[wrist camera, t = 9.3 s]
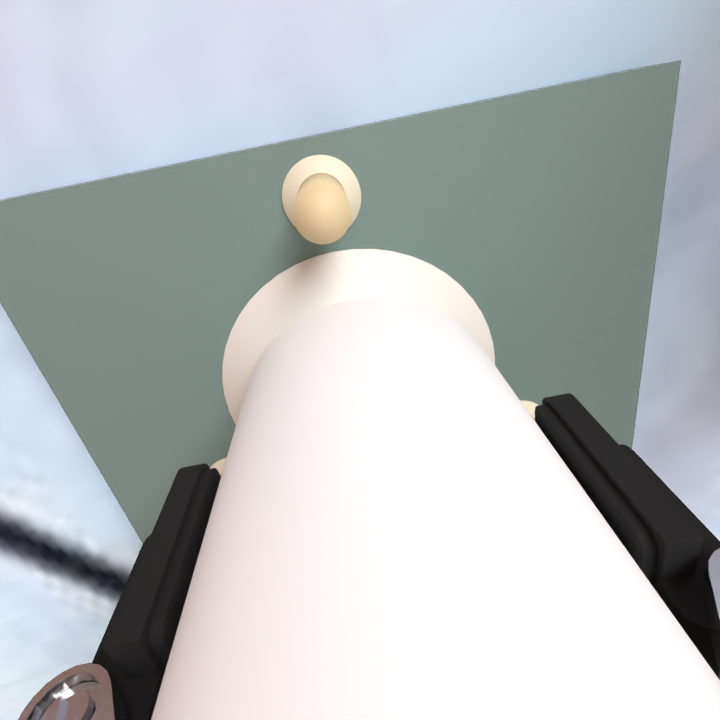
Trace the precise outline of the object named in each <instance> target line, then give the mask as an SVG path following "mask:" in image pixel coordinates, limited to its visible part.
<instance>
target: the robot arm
mask: <svg viewBox="0 0 720 720" xmlns="http://www.w3.org/2000/svg"><path fill="white" fill-rule="evenodd" d="M535 422H536V424H537V425H538V426H539V428H540V429H541V431H542V432H543V433H544V435H545V436H546V438H547V439H548V440H549V442H550V443H551V445H552V446H553V447H554V449H555V450H556V452H557V453H558V454H559V456H560V457H561V459H562V460H563V461H564V463H565V464H566V466H567V467H568V468H569V470H570V471H571V473H572V474H573V475H574V477H575V478H576V480H577V481H578V482H579V484H580V485H581V487H582V488H583V489H584V491H585V492H586V494H587V495H588V496H589V498H590V499H591V501H592V502H593V503H594V505H595V506H596V508H597V509H598V510H599V512H600V513H601V515H602V516H603V517H604V519H605V520H606V522H607V523H608V524H609V526H610V527H611V529H612V530H613V531H614V533H615V534H616V536H617V537H618V538H619V540H620V541H621V543H622V544H623V545H624V547H625V548H626V550H627V551H628V552H629V554H630V555H631V557H632V558H633V559H634V561H635V562H636V564H637V565H638V566H639V568H640V569H641V571H642V572H643V573H644V575H645V576H646V578H647V579H648V580H649V582H650V583H651V585H652V586H653V587H654V589H655V590H656V592H657V593H658V594H659V596H660V597H661V599H662V600H663V601H664V603H665V604H666V606H667V607H668V608H669V610H670V611H671V613H672V614H673V615H674V617H675V618H676V620H677V621H678V622H679V624H680V625H681V627H682V628H683V629H684V631H685V632H686V634H687V635H688V636H689V638H690V639H691V641H692V642H693V644H694V645H695V646H696V648H697V649H698V651H699V652H700V653H701V655H702V656H703V658H704V659H705V660H706V662H707V663H708V665H709V666H710V667H711V669H712V670H713V672H714V673H715V674H716V676H717V677H718V679H719V680H720V541H719V540H718V539H717V538H716V537H715V536H714V535H713V534H712V533H711V532H710V531H709V530H708V529H707V528H706V527H705V526H704V524H703V523H702V522H701V521H700V520H699V519H698V518H697V517H696V516H695V515H694V514H693V513H692V512H691V511H690V510H689V509H688V508H687V507H686V506H685V504H684V503H683V502H682V501H681V500H680V499H679V498H678V497H677V496H676V495H675V494H674V493H673V492H672V491H671V490H670V489H669V488H668V487H667V486H666V484H665V483H664V482H663V481H662V480H661V479H660V478H659V477H658V476H657V475H656V474H655V473H654V472H653V471H652V470H651V469H650V468H649V467H648V466H647V464H646V463H645V462H644V461H643V460H642V459H641V458H640V457H639V456H638V455H637V454H636V453H635V452H634V451H633V450H632V449H631V448H630V447H628V446H626V445H623V444H621V445H619V444H618V443H617V442H616V441H615V440H614V439H613V438H612V437H611V436H610V434H609V433H608V432H607V431H606V430H605V429H604V428H603V427H602V426H601V425H600V424H599V423H598V421H597V420H596V419H595V418H594V417H593V416H592V415H591V414H590V413H589V412H588V411H587V410H586V408H585V407H584V406H583V405H582V404H581V403H580V402H579V401H578V400H577V399H576V398H575V397H574V396H573V395H572V394H570V393H566V394H561V395H556V396H551V397H546V398H544V399H543V400H542V405H539V406H536V407H535ZM220 479H221V476H220V474H219V472H218V470H217V469H216V468H212V469H210V467H209V466H208V465H207V464H205V463H204V464H198V465H193V466H188V467H183V468H180V469H179V470H178V472H177V474H176V476H175V479H174V481H173V484H172V486H171V488H170V491H169V493H168V495H167V498H166V500H165V503H164V505H163V507H162V510H161V512H160V515H159V517H158V519H157V522H156V524H155V526H154V529H153V531H152V534H150V535H149V536H148V537H147V538H146V540H145V542H144V543H143V545H142V548H141V550H140V552H139V555H138V557H137V559H136V562H135V564H134V566H133V569H132V571H131V573H130V576H129V578H128V580H127V583H126V585H125V587H124V590H123V592H122V594H121V597H120V599H119V601H118V604H117V606H116V608H115V611H114V613H113V615H112V618H111V620H110V622H109V625H108V627H107V629H106V632H105V634H104V636H103V639H102V641H101V643H100V646H99V648H98V650H97V653H96V655H95V657H94V660H93V662H92V663H87V664H82V665H77V666H75V667H73V668H70V669H68V670H66V671H64V672H62V673H61V674H59V675H58V676H56V677H55V678H54V679H52V680H51V681H50V682H48V683H47V684H46V685H45V686H44V687H43V688H42V689H41V690H40V691H39V692H38V693H37V694H36V695H35V696H34V697H33V698H32V700H31V701H30V702H29V704H28V705H27V706H26V708H25V709H24V710H23V712H22V713H21V715H20V717H19V719H18V720H151V718H152V715H153V711H154V708H155V704H156V701H157V697H158V694H159V690H160V687H161V684H162V680H163V677H164V673H165V670H166V666H167V663H168V659H169V656H170V652H171V649H172V645H173V642H174V638H175V635H176V632H177V628H178V625H179V621H180V618H181V614H182V611H183V607H184V604H185V600H186V597H187V593H188V590H189V587H190V583H191V580H192V576H193V573H194V569H195V566H196V562H197V559H198V555H199V552H200V548H201V545H202V542H203V538H204V535H205V531H206V528H207V524H208V521H209V517H210V514H211V510H212V507H213V503H214V500H215V497H216V493H217V490H218V486H219V483H220Z"/></svg>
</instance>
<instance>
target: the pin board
mask: <svg viewBox="0 0 720 720" xmlns="http://www.w3.org/2000/svg"><path fill="white" fill-rule="evenodd" d="M680 64H681V61H675V62H669V63H663V64H658V65H652V66H646V67H641V68H636V69H631V70H626V71H621V72H616V73H612V74H607V75H602V76H597V77H592V78H587V79H583V80H578V81H573V82H568V83H563V84H558V85H554V86H549V87H544V88H539V89H534V90H529V91H525V92H520V93H515V94H510V95H505V96H500V97H496V98H491V99H486V100H481V101H476V102H471V103H467V104H462V105H457V106H452V107H447V108H442V109H438V110H433V111H428V112H423V113H418V114H413V115H409V116H404V117H399V118H394V119H389V120H384V121H380V122H375V123H370V124H365V125H360V126H355V127H351V128H346V129H341V130H336V131H331V132H326V133H322V134H317V135H312V136H307V137H302V138H298V139H293V140H288V141H283V142H278V143H273V144H269V145H264V146H259V147H254V148H249V149H244V150H240V151H235V152H230V153H225V154H220V155H215V156H211V157H206V158H201V159H196V160H191V161H186V162H182V163H177V164H172V165H167V166H162V167H157V168H153V169H148V170H143V171H138V172H133V173H128V174H124V175H119V176H114V177H109V178H104V179H99V180H95V181H90V182H85V183H80V184H75V185H70V186H66V187H61V188H56V189H51V190H46V191H41V192H37V193H32V194H27V195H22V196H17V197H12V198H8V199H3V200H0V303H1V305H2V306H3V308H4V310H5V311H6V313H7V315H8V316H9V318H10V320H11V322H12V323H13V325H14V327H15V328H16V330H17V332H18V333H19V335H20V337H21V338H22V340H23V342H24V343H25V345H26V347H27V349H28V350H29V352H30V354H31V355H32V357H33V359H34V360H35V362H36V364H37V365H38V367H39V369H40V371H41V372H42V374H43V376H44V377H45V379H46V381H47V382H48V384H49V386H50V387H51V389H52V391H53V392H54V394H55V396H56V398H57V399H58V401H59V403H60V404H61V406H62V408H63V409H64V411H65V413H66V414H67V416H68V418H69V420H70V421H71V423H72V425H73V426H74V428H75V430H76V431H77V433H78V435H79V436H80V438H81V440H82V442H83V443H84V445H85V447H86V448H87V450H88V452H89V453H90V455H91V457H92V458H93V460H94V462H95V463H96V465H97V467H98V469H99V470H100V472H101V474H102V475H103V477H104V479H105V480H106V482H107V484H108V485H109V487H110V489H111V491H112V492H113V494H114V496H115V497H116V499H117V501H118V502H119V504H120V506H121V507H122V509H123V511H124V512H125V514H126V516H127V518H128V519H129V521H130V523H131V524H132V526H133V528H134V529H135V531H136V533H137V534H138V536H139V538H140V540H141V541H142V543H144V542H145V540H146V538H147V537H148V536H149V535H150V534H152V531H153V529H154V526H155V524H156V522H157V519H158V517H159V515H160V512H161V510H162V507H163V505H164V503H165V500H166V498H167V495H168V493H169V491H170V488H171V486H172V484H173V481H174V479H175V476H176V474H177V472H178V470H179V469H180V468H183V467H188V466H193V465H198V464H204V463H205V464H207V465H208V466H209V467H210V469H212V468H216V469H217V470H218V472H219V474H220V476H222V472H223V469H224V465H225V462H226V458H227V455H228V452H229V448H230V445H231V441H232V438H233V434H234V431H235V427H236V424H237V420H238V417H239V413H240V410H241V407H242V403H243V400H244V396H245V393H246V389H247V386H248V382H249V380H250V377H251V374H252V372H253V370H254V368H255V366H256V364H257V362H258V360H259V359H260V357H261V356H262V354H263V353H264V351H265V350H266V349H267V348H268V346H269V345H270V344H271V343H272V342H273V341H274V340H275V339H276V338H277V337H278V336H279V335H280V334H281V333H282V332H283V331H284V330H286V329H287V328H288V327H289V326H291V325H292V324H293V323H295V322H296V321H298V320H300V319H301V318H303V317H304V316H306V315H308V314H310V313H312V312H314V311H316V310H318V309H321V308H324V307H326V306H329V305H332V304H335V303H339V302H342V301H347V300H352V299H358V298H369V297H388V298H398V299H404V300H409V301H414V302H417V303H421V304H424V305H427V306H429V307H432V308H434V309H437V310H439V311H441V312H442V313H444V314H446V315H448V316H450V317H451V318H453V319H454V320H456V321H457V322H458V323H460V324H461V325H462V326H463V327H464V328H466V329H467V330H468V331H469V332H470V333H471V334H472V335H473V336H474V338H475V339H476V340H477V341H478V342H479V344H480V345H481V347H482V348H483V349H484V351H485V352H486V354H487V355H488V356H489V358H490V359H491V361H492V362H493V363H494V365H495V366H496V368H497V369H498V370H499V372H500V373H501V375H502V376H503V377H504V379H505V380H506V382H507V383H508V384H509V386H510V387H511V389H512V390H513V391H514V393H515V394H516V396H517V397H518V398H519V400H520V401H521V403H522V404H523V405H524V407H525V408H526V410H527V411H528V412H529V414H530V415H531V417H532V418H533V419H534V421H535V407H536V406H539V405H542V400H543V399H544V398H546V397H551V396H556V395H561V394H566V393H570V394H572V395H573V396H574V397H575V398H576V399H577V400H578V401H579V402H580V403H581V404H582V405H583V406H584V407H585V408H586V410H587V411H588V412H589V413H590V414H591V415H592V416H593V417H594V418H595V419H596V420H597V421H598V423H599V424H600V425H601V426H602V427H603V428H604V429H605V430H606V431H607V432H608V433H609V434H610V436H611V437H612V438H613V439H614V440H615V441H616V442H617V443H618V444H619V445H621V444H623V445H626V446H628V447H630V448H631V449H632V443H633V435H634V427H635V419H636V411H637V403H638V396H639V388H640V380H641V372H642V364H643V356H644V348H645V340H646V332H647V324H648V317H649V309H650V301H651V293H652V285H653V277H654V269H655V261H656V253H657V245H658V238H659V230H660V222H661V214H662V206H663V198H664V190H665V182H666V174H667V166H668V159H669V151H670V143H671V135H672V127H673V119H674V111H675V103H676V95H677V87H678V80H679V72H680Z"/></svg>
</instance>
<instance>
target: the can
mask: <svg viewBox="0 0 720 720" xmlns="http://www.w3.org/2000/svg"><path fill="white" fill-rule="evenodd" d="M151 720H720V680H719V679H718V677H717V676H716V674H715V673H714V672H713V670H712V669H711V667H710V666H709V665H708V663H707V662H706V660H705V659H704V658H703V656H702V655H701V653H700V652H699V651H698V649H697V648H696V646H695V645H694V644H693V642H692V641H691V639H690V638H689V636H688V635H687V634H686V632H685V631H684V629H683V628H682V627H681V625H680V624H679V622H678V621H677V620H676V618H675V617H674V615H673V614H672V613H671V611H670V610H669V608H668V607H667V606H666V604H665V603H664V601H663V600H662V599H661V597H660V596H659V594H658V593H657V592H656V590H655V589H654V587H653V586H652V585H651V583H650V582H649V580H648V579H647V578H646V576H645V575H644V573H643V572H642V571H641V569H640V568H639V566H638V565H637V564H636V562H635V561H634V559H633V558H632V557H631V555H630V554H629V552H628V551H627V550H626V548H625V547H624V545H623V544H622V543H621V541H620V540H619V538H618V537H617V536H616V534H615V533H614V531H613V530H612V529H611V527H610V526H609V524H608V523H607V522H606V520H605V519H604V517H603V516H602V515H601V513H600V512H599V510H598V509H597V508H596V506H595V505H594V503H593V502H592V501H591V499H590V498H589V496H588V495H587V494H586V492H585V491H584V489H583V488H582V487H581V485H580V484H579V482H578V481H577V480H576V478H575V477H574V475H573V474H572V473H571V471H570V470H569V468H568V467H567V466H566V464H565V463H564V461H563V460H562V459H561V457H560V456H559V454H558V453H557V452H556V450H555V449H554V447H553V446H552V445H551V443H550V442H549V440H548V439H547V438H546V436H545V435H544V433H543V432H542V431H541V429H540V428H539V426H538V425H537V424H536V422H535V421H534V419H533V418H532V417H531V415H530V414H529V412H528V411H527V410H526V408H525V407H524V405H523V404H522V403H521V401H520V400H519V398H518V397H517V396H516V394H515V393H514V391H513V390H512V389H511V387H510V386H509V384H508V383H507V382H506V380H505V379H504V377H503V376H502V375H501V373H500V372H499V370H498V369H497V368H496V366H495V365H494V363H493V362H492V361H491V359H490V358H489V356H488V355H487V354H486V352H485V351H484V349H483V348H482V347H481V345H480V344H479V342H478V341H477V340H476V339H475V338H474V336H473V335H472V334H471V333H470V332H469V331H468V330H467V329H466V328H464V327H463V326H462V325H461V324H460V323H458V322H457V321H456V320H454V319H453V318H451V317H450V316H448V315H446V314H444V313H442V312H441V311H439V310H437V309H434V308H432V307H429V306H427V305H424V304H421V303H417V302H414V301H409V300H404V299H398V298H388V297H369V298H358V299H352V300H347V301H342V302H339V303H335V304H332V305H329V306H326V307H324V308H321V309H318V310H316V311H314V312H312V313H310V314H308V315H306V316H304V317H303V318H301V319H300V320H298V321H296V322H295V323H293V324H292V325H291V326H289V327H288V328H287V329H286V330H284V331H283V332H282V333H281V334H280V335H279V336H278V337H277V338H276V339H275V340H274V341H273V342H272V343H271V344H270V345H269V346H268V348H267V349H266V350H265V351H264V353H263V354H262V356H261V357H260V359H259V360H258V362H257V364H256V366H255V368H254V370H253V372H252V374H251V377H250V380H249V382H248V386H247V389H246V393H245V396H244V400H243V403H242V407H241V410H240V413H239V417H238V420H237V424H236V427H235V431H234V434H233V438H232V441H231V445H230V448H229V452H228V455H227V458H226V462H225V465H224V469H223V472H222V476H221V479H220V483H219V486H218V490H217V493H216V497H215V500H214V503H213V507H212V510H211V514H210V517H209V521H208V524H207V528H206V531H205V535H204V538H203V542H202V545H201V548H200V552H199V555H198V559H197V562H196V566H195V569H194V573H193V576H192V580H191V583H190V587H189V590H188V593H187V597H186V600H185V604H184V607H183V611H182V614H181V618H180V621H179V625H178V628H177V632H176V635H175V638H174V642H173V645H172V649H171V652H170V656H169V659H168V663H167V666H166V670H165V673H164V677H163V680H162V684H161V687H160V690H159V694H158V697H157V701H156V704H155V708H154V711H153V715H152V718H151Z"/></svg>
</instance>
